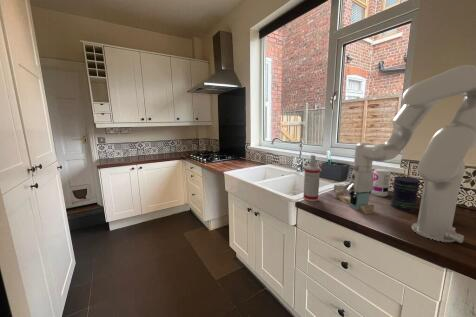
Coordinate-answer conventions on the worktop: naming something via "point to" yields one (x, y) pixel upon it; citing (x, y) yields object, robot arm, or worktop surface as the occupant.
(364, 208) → the rail
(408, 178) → the storage jar
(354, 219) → the worktop surface
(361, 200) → the block
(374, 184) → the supplement can
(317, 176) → the spray bottle
